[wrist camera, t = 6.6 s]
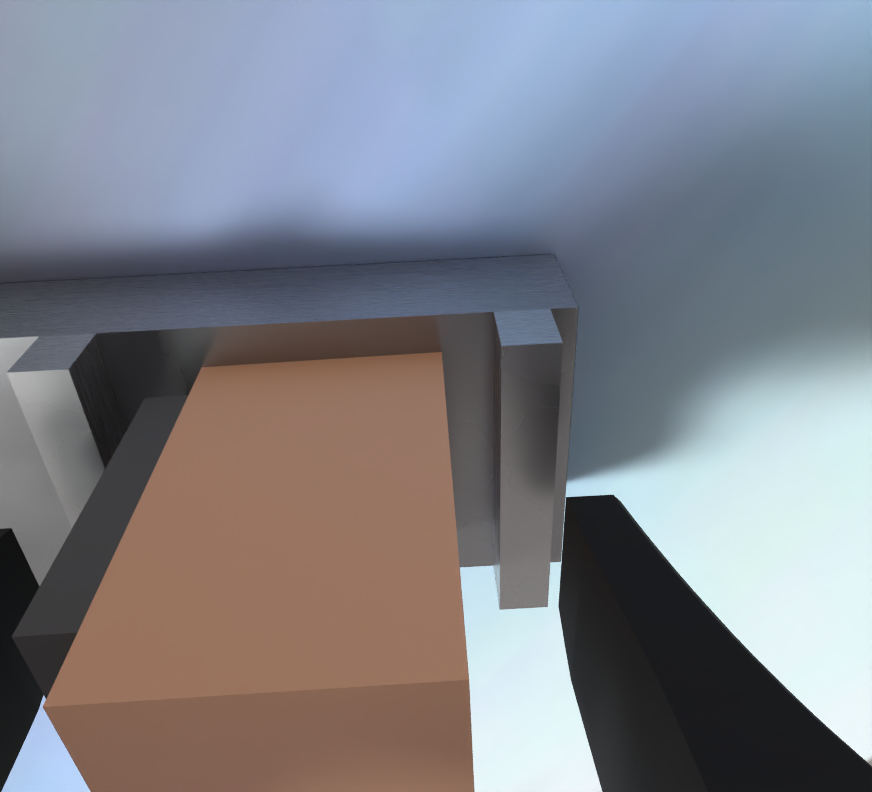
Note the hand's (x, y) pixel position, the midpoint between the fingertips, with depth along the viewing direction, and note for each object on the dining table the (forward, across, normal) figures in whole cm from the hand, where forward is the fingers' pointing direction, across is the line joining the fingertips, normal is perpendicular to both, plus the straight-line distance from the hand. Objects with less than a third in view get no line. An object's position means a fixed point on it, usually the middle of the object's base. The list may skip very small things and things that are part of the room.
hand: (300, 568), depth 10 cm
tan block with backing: (+2, 0, 0) cm, 2 cm away
